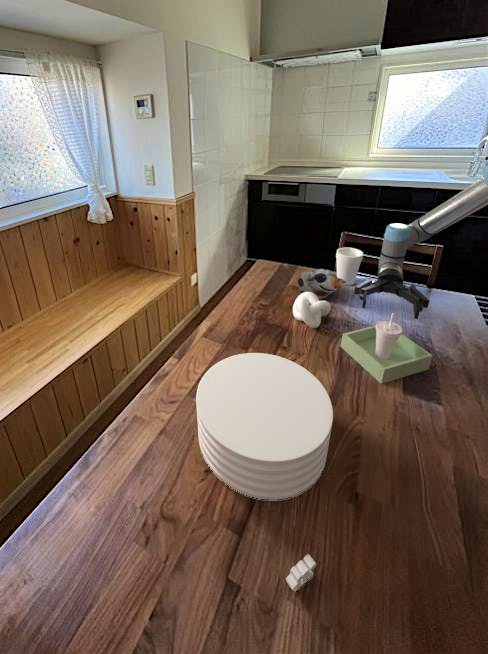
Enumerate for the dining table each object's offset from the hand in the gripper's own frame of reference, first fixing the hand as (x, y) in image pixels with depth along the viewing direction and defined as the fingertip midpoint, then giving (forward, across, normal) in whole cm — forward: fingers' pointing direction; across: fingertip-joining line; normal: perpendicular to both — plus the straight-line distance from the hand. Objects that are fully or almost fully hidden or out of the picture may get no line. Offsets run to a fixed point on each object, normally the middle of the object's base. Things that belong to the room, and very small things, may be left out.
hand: (389, 309), depth 99 cm
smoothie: (+10, 0, -10) cm, 14 cm away
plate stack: (+48, +24, -11) cm, 55 cm away
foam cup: (-33, +14, -11) cm, 37 cm away
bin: (+10, 0, -10) cm, 14 cm away
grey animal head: (-19, +22, -11) cm, 31 cm away
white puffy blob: (0, +21, -11) cm, 24 cm away
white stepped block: (+70, +10, -10) cm, 72 cm away
